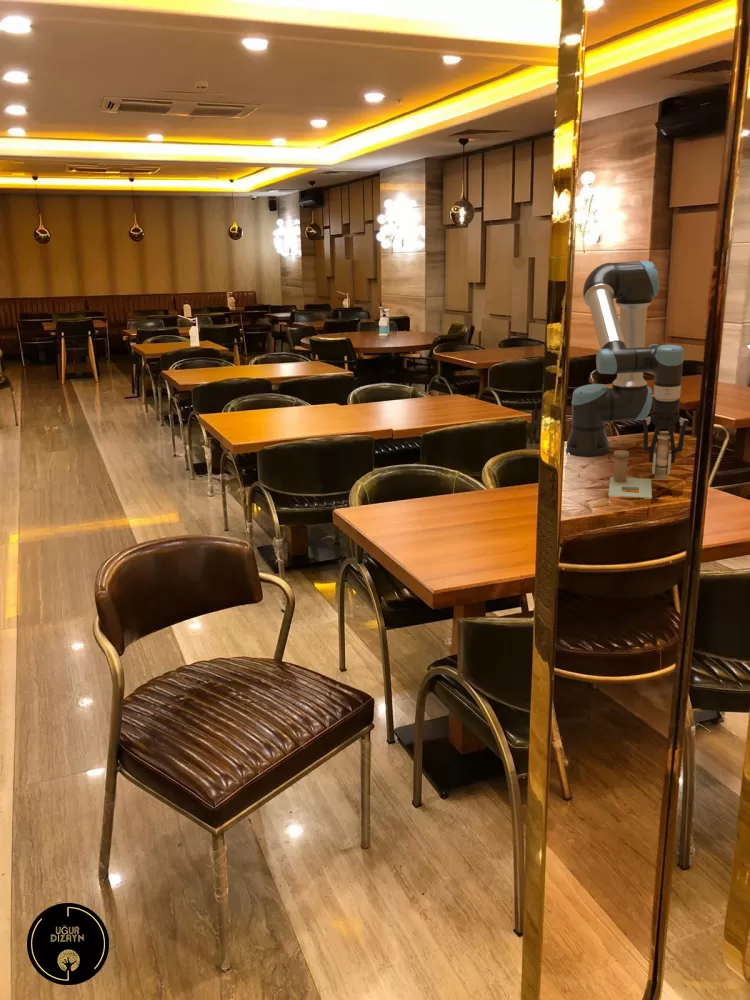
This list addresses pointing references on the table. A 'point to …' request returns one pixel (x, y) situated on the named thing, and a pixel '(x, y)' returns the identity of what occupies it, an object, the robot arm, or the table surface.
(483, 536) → the table surface
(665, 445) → the peg
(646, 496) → the board
